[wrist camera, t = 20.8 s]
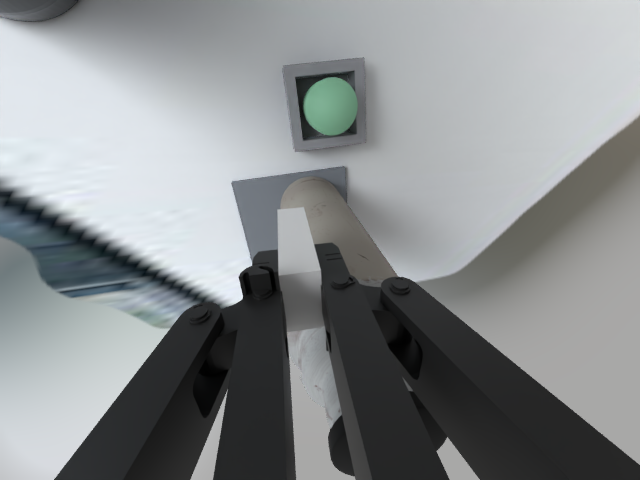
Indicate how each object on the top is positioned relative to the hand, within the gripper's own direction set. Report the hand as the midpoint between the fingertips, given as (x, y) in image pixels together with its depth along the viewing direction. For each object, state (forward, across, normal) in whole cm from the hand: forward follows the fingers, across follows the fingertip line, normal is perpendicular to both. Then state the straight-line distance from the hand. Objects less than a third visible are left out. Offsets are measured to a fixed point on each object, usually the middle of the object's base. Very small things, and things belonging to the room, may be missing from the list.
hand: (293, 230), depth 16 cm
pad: (+19, +1, -8) cm, 21 cm away
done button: (+18, +5, +6) cm, 20 cm away
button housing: (+19, +5, +6) cm, 21 cm away
